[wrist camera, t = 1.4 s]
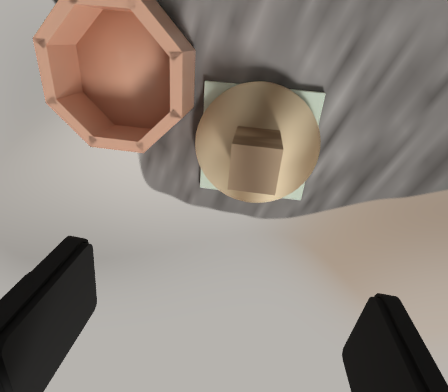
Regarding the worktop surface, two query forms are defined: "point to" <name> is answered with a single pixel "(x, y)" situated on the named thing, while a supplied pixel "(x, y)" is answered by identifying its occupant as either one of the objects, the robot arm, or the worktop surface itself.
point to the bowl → (115, 71)
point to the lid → (257, 142)
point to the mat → (309, 97)
